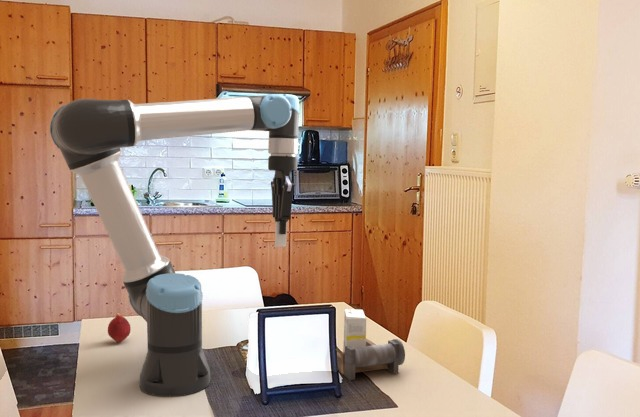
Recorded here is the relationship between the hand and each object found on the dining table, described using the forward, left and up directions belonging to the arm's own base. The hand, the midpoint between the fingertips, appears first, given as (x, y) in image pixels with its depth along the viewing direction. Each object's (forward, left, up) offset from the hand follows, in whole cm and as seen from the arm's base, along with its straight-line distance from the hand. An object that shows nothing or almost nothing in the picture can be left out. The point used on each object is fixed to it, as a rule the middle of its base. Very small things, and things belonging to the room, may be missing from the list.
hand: (280, 246), depth 158 cm
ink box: (+14, -16, -27) cm, 34 cm away
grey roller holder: (+13, -19, -27) cm, 35 cm away
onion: (-39, +18, -27) cm, 51 cm away
